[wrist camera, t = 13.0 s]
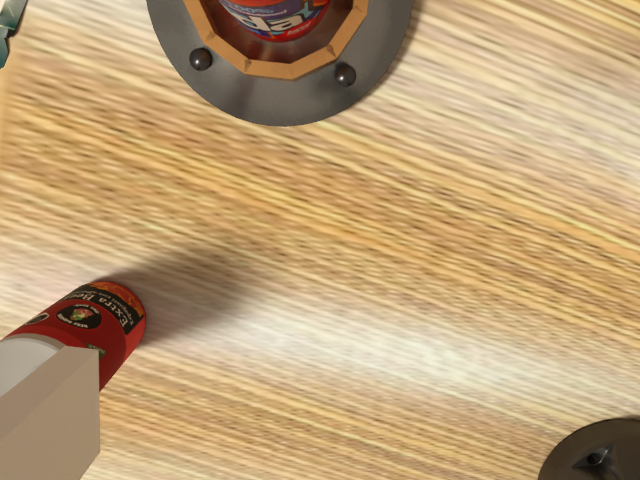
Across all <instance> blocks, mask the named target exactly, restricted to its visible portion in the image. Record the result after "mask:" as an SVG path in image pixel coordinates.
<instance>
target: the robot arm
mask: <svg viewBox="0 0 640 480" xmlns="http://www.w3.org/2000/svg"><path fill="white" fill-rule="evenodd" d="M99 452H100V410H99V351H98V350H96V349H88V348H79V347H70V346H64V347H63V348H62V349H60V350H59V351H58V352H57V353H55V354H54V355H53V356H52V357H50V358H49V359H48V360H47V361H45V362H44V363H43V364H42V365H40V366H39V367H38V368H37V369H35V370H34V371H33V372H32V373H31V374H29V375H28V376H27V377H26V378H24V379H23V380H22V381H21V382H19V383H18V384H17V385H16V386H14V387H13V388H12V389H11V390H9V391H8V392H7V393H6V394H4V395H3V396H2V397H1V398H0V480H80V479H81V477H82V476H83V475H84V473H85V472H86V470H87V469H88V468H89V466H90V465H91V463H92V462H93V461H94V459H95V458H96V457H97V455H98V454H99ZM538 480H640V421H636V420H611V421H605V422H601V423H597V424H594V425H591V426H588V427H586V428H583V429H581V430H579V431H577V432H575V433H574V434H572V435H570V436H569V437H567V438H566V439H565V440H563V441H562V442H561V443H560V444H559V445H558V446H557V447H556V448H555V449H554V450H553V451H552V452H551V453H550V455H549V456H548V457H547V459H546V460H545V462H544V464H543V466H542V468H541V470H540V473H539V477H538Z"/></svg>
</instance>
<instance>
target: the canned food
mask: <svg viewBox="0 0 640 480" xmlns="http://www.w3.org/2000/svg"><path fill="white" fill-rule="evenodd" d="M145 325H146V314H145V311H144V307H143V305H142V303H141V301H140V300H139V299H138V297H137V296H136V295H135V294H134V293H133V292H132V291H130V290H129V289H127V288H126V287H124V286H122V285H120V284H117V283H113V282H108V281H99V282H94V283H88V284H85V285H82V286H80V287H78V288H77V289H75V290H74V291H72V292H71V293H69V294H68V295H66V296H65V297H63V298H62V299H60V300H59V301H57V302H56V303H54V304H53V305H51V306H50V307H48V308H47V309H46V310H44V311H43V312H41V313H40V314H38V315H37V316H35V317H34V318H32V319H31V320H29V321H28V322H26V323H25V324H23V325H22V326H20V327H19V328H17V329H16V330H14V331H13V332H11V333H10V334H8V335H7V336H6V337H4V338H3V339H2V340H0V398H1V397H2V396H3V395H4V394H6V393H7V392H8V391H9V390H11V389H12V388H13V387H14V386H16V385H17V384H18V383H19V382H21V381H22V380H23V379H24V378H26V377H27V376H28V375H29V374H31V373H32V372H33V371H34V370H35V369H37V368H38V367H39V366H40V365H42V364H43V363H44V362H45V361H47V360H48V359H49V358H50V357H52V356H53V355H54V354H55V353H57V352H58V351H59V350H60V349H62V348H63V347H64V346H70V347H79V348H88V349H96V350H98V351H99V392H100V391H101V390H102V389H103V387H104V386H105V385H106V384H107V382H108V381H109V380H110V379H111V378H112V376H113V375H114V374H115V373H116V371H117V370H118V369H119V368H120V366H121V365H122V364H123V363H124V362H125V360H126V359H127V358H128V357H129V355H130V354H131V353H132V352H133V350H134V349H135V348H136V347H137V345H138V344H139V343H140V341H141V339H142V337H143V334H144V331H145Z"/></svg>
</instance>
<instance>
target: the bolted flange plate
mask: <svg viewBox="0 0 640 480" xmlns="http://www.w3.org/2000/svg"><path fill="white" fill-rule="evenodd" d="M146 1H147V7H148V11H149V15H150V18H151V21H152V25H153V28H154V30H155V33H156V35H157V37H158V40H159V42H160V44H161V47H162V48H163V50H164V52H165V54H166V55H167V57H168V59H169V60H170V62H171V64H172V65H173V66H174V68H175V69H176V70H177V72H178V73H179V74H180V76H181V77H182V78H183V79H184V80H185V81H186V82H187V83H188V85H189V86H190V87H191V88H192V89H193V90H194V91H195V92H197V93H198V94H199V95H200V96H201V97H203V98H204V99H205V100H206V101H207V102H209V103H211V104H212V105H214V106H215V107H217V108H218V109H220V110H222V111H224V112H226V113H228V114H230V115H232V116H234V117H236V118H239V119H242V120H245V121H248V122H252V123H256V124H262V125H267V126H284V127H286V126H297V125H304V124H308V123H313V122H317V121H320V120H322V119H325V118H328V117H330V116H333V115H335V114H337V113H338V112H340V111H342V110H344V109H346V108H348V107H349V106H350V105H352V104H353V103H355V102H356V101H357V100H359V99H360V98H361V97H362V96H364V95H365V94H366V93H367V92H368V91H369V90H370V89H371V88H372V87H373V86H374V85H375V84H376V83H377V81H378V80H379V79H380V78H381V76H382V75H383V74H384V73H385V72H386V70H387V68H388V67H389V65H390V64H391V62H392V60H393V59H394V57H395V56H396V53H397V51H398V49H399V47H400V45H401V43H402V41H403V38H404V35H405V32H406V29H407V26H408V23H409V20H410V15H411V11H412V6H413V0H331V1H330V4H329V7H328V9H327V12H326V13H325V15H324V17H323V19H322V20H321V21H320V23H319V24H318V25H317V26H316V27H315V28H314V29H313V30H312V31H311V32H310V33H308V34H307V35H305V36H304V37H302V38H300V39H298V40H295V41H291V42H286V43H274V42H269V41H265V40H262V39H260V38H257V37H255V36H254V35H252V34H250V33H249V32H248V31H246V30H245V29H244V28H243V27H242V26H241V25H240V24H239V23H238V22H237V21H236V19H235V18H234V17H233V16H232V15H231V14H230V13H229V12H228V10H227V9H226V8H225V7H224V6H223V5H222V4H221V3H220V1H219V0H146Z"/></svg>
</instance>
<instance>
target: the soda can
mask: <svg viewBox="0 0 640 480" xmlns="http://www.w3.org/2000/svg"><path fill="white" fill-rule="evenodd" d="M219 1H220V3H221V4H222V5H223V6H224V7H225V8H226V9H227V10H228V12H229V13H230V14H231V15H232V16H233V17H234V18H235V19H236V21H237V22H238V23H239V24H240V25H241V26H242V27H243V28H244V29H245V30H246V31H248V32H249V33H250V34H252V35H254V36H255V37H257V38H260V39H262V40H265V41H269V42H274V43H286V42H291V41H295V40H298V39H300V38H302V37H304V36H305V35H307V34H308V33H310V32H311V31H312V30H313V29H314V28H315V27H316V26H317V25H318V24H319V23H320V21H321V20H322V19H323V17H324V15H325V13H326V12H327V9H328V7H329V4H330V1H331V0H219Z"/></svg>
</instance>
